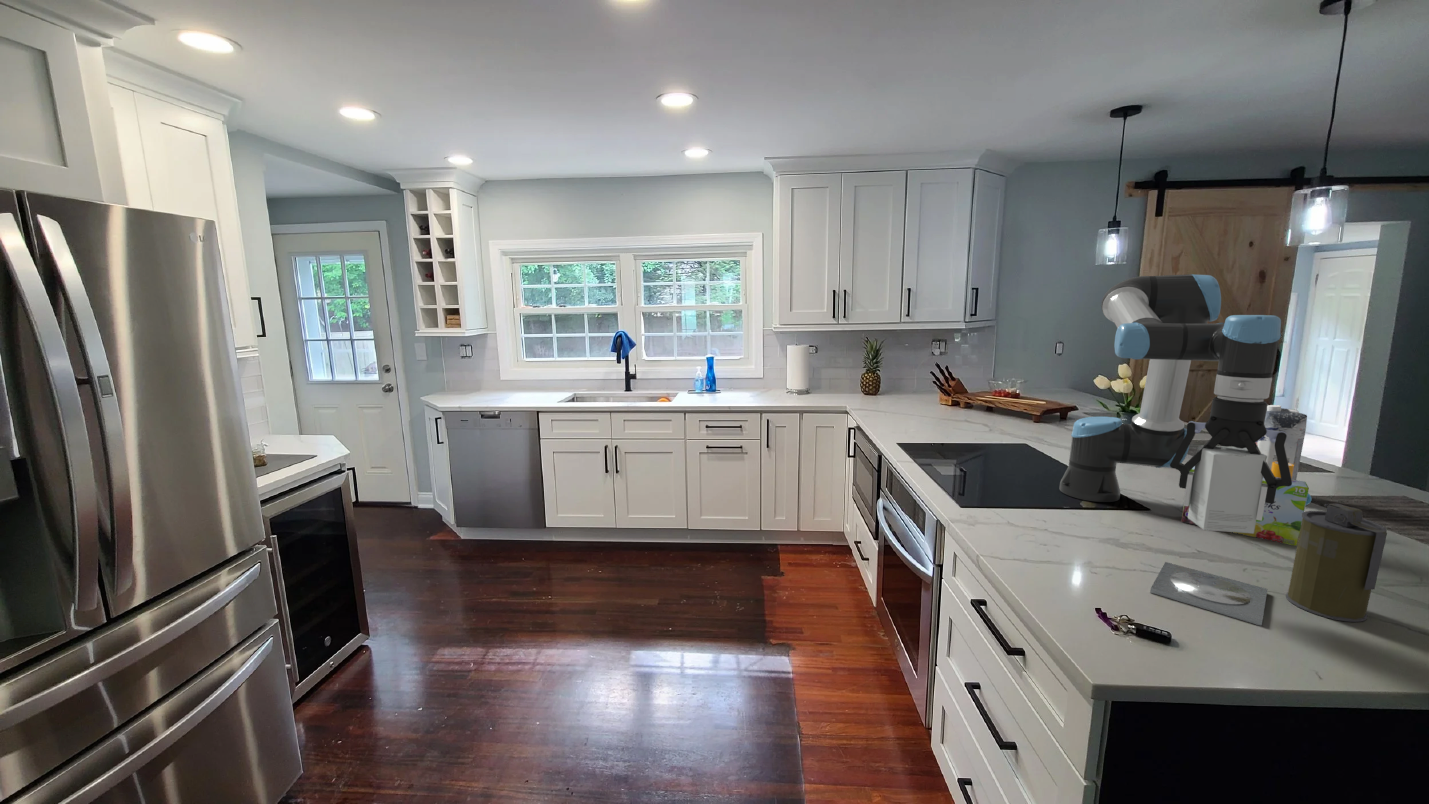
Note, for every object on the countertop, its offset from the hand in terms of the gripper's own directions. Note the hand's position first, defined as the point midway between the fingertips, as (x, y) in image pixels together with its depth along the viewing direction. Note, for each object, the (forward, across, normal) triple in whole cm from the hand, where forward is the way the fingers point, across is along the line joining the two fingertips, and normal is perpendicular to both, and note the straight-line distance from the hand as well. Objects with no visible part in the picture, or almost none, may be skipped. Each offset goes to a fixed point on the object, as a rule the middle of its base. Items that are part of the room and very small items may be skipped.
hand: (1221, 511), depth 107 cm
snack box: (+18, +2, +44) cm, 47 cm away
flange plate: (+17, 0, 0) cm, 17 cm away
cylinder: (+18, +9, +62) cm, 65 cm away
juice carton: (+17, +8, +84) cm, 86 cm away
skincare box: (+3, 0, 0) cm, 3 cm away
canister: (+18, +16, +8) cm, 25 cm away
